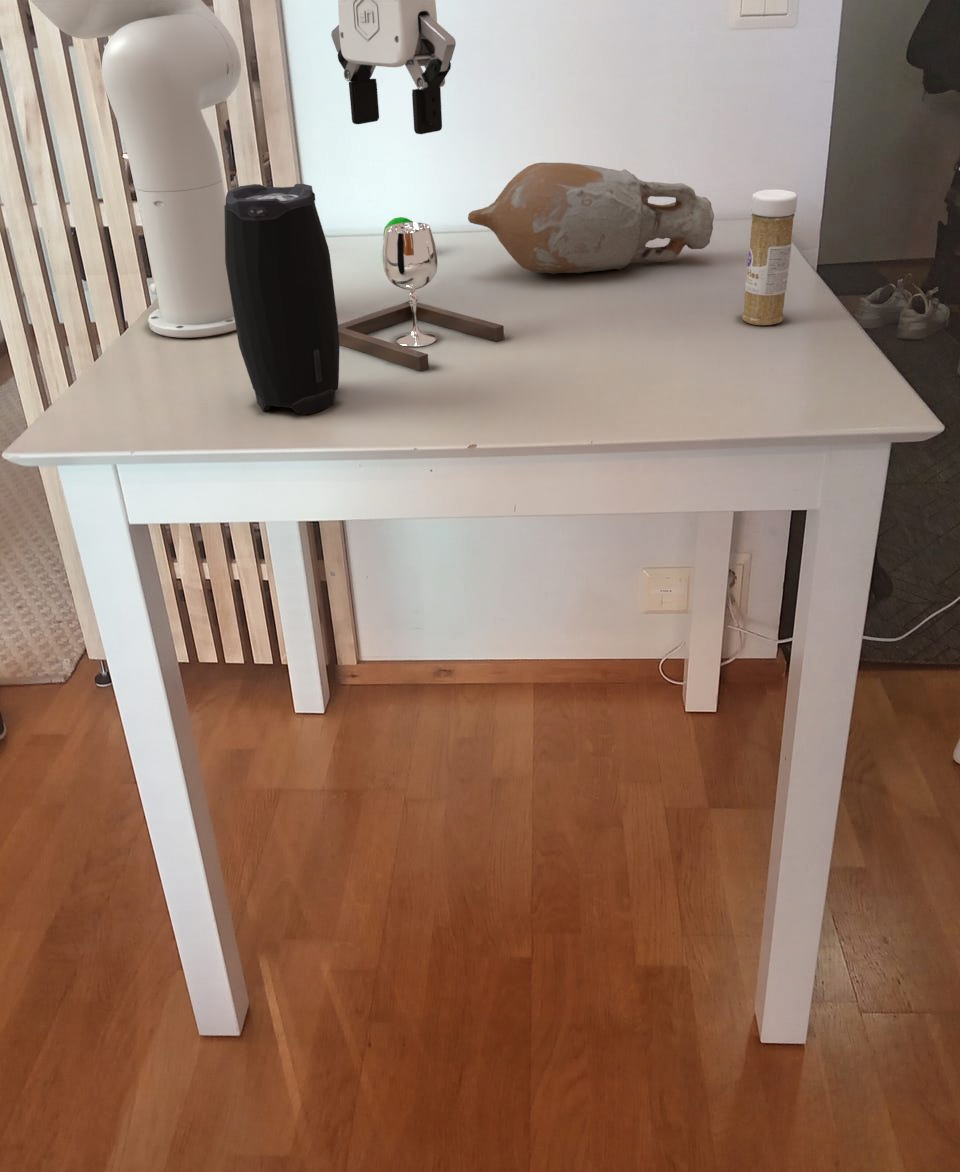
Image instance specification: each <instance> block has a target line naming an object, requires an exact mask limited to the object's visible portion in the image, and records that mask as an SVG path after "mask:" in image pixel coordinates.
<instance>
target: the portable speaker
mask: <svg viewBox="0 0 960 1172" xmlns="http://www.w3.org/2000/svg"><path fill="white" fill-rule="evenodd" d="M225 196H226V204H225V205H224V212H225V264H226V270H227V276H228V282H229V288H230V294H231V300H232V306H233V312H234V318H235V324H236V330H235V331H236V336H237V341H238V347H239V350H240V353H241V356H242V360H243V362H244V365H245V368H246V371H247V374H248V377H249V380H250V384H251V387H252V389H253V391H254V394H255V398H256V404H257V405H258V407H259V409H260V410H261V411H262V412H267V411H270V410H271V407H278V408H288V409H292V410H293V411H294V412H295V413H296V414H297V415H302V416H303V415H304V416H308V415H311V414H315V413H318V412H320V411H323V410H325V409H327V408H329V407H331V406H333V404H334V401H335V397H336V393H337V391H338V390H339V387H340V346H341V345H340V344H339V332H338V325H339V322H338V321H339V320H338V314H337V313H338V312H337V303H336V296H335V287H334V278H333V271H332V270H333V269H332V262H331V254H330V250H329V246H328V243H327V239H326V236H325V235H326V234H325V232H324V230H323V226H322V223H321V219H320V216H319V213H318V210H317V206H316V194H315V192H314V190H313V186H312V185H310V184H306V183H295V184H294V185H293V186H283V187H282V186H264V185H262V184H258V183H254V184H246V185H239V186H237V187H234V188H233V189H230V190H228V191H227V192H226V194H225Z"/></svg>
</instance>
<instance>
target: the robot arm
mask: <svg viewBox="0 0 960 1172" xmlns="http://www.w3.org/2000/svg"><path fill="white" fill-rule="evenodd" d="M29 1H30V2H31V3H32V4H33V5H34V6H35V7H36V8H37V9H38V10H39V11H40V12H41V13H42V14H43V15H44V16H45V17H46V18H47V19H48V20H49V21H50V22H51V23H52V24H53V25H54V26H56V28H57V29H59V30H60V31H61V32H63V34H64V33H65V35H67V36H70V37H73V38H76V39H80V40H88V39H89V40H90V39H91V40H92V39H100V38H106V37H110V38H109V39H108V42H107V43H106V45H105V48H104V50H103V54H102V59H101V75H102V81H103V86H104V90H105V93H106V96H107V98H108V101H109V104H110V106H111V109H112V111H113V114H114V117H115V119H116V122H117V124H118V127H119V130H120V134H121V137H122V140H123V144H124V147H125V151H126V155H127V159H128V164H129V168H130V169H129V170H130V173H131V177H132V182H133V187H134V190H135V191H134V192H135V195H136V201H137V205H138V209H139V214H140V219H141V224H142V229H143V234H144V239H145V245H146V248H147V254H148V258H149V264H150V269H151V272H152V277H153V282H152V283H150V285H149V291H150V293H152V294H153V295H156V298H157V302H158V308H156V309H155V310H153V311H152V312H151V313H150V314H149V316H148V317H147V320H148V326H149V329H150V330H151V331H152V332H154V333H155V334H157V335H160V336H163V337H170V338H182V339H183V338H184V339H188V338H190V339H191V338H203V337H212V336H218V335H223V334H226V333H231V332H234V331H237V330H236V324H235V318H234V312H233V306H232V300H231V294H230V288H229V282H228V276H227V270H226V264H225V212H224V205H225V204H226V190H225V183H224V180H223V179H224V178H223V173H222V168H221V163H220V158H219V157H220V156H219V154H218V150H217V147H216V143H215V141H214V137H213V135H212V133H211V131H210V128H209V127H208V125H207V122H206V120H205V117H204V115H203V112H202V110H204V109H205V110H206V109H208V108H211V107H214V106H215V105H219V104H220V103H222V102H223V101H225V100H226V99H228V98H230V96H231V95H233V93H234V91H235V90H236V88H237V86H238V84H239V81H240V78H241V73H242V71H241V70H242V64H241V56H240V52H239V49H238V46H237V43H236V42H235V40H234V38H233V35H232V34H231V33H230V31H229V29H228V28H227V27H226V25H225V24H224V23H223V22H222V21H221V19H220V18H219V17H218V16H217V15H216V14H215V13H214V12H213V11H212V10H211V8H209V6H208V5H207V4H206V3H205V2H204V1H203V0H29ZM436 2H437V1H436V0H337V10H338V24H337V26H336V27H335V28H334V29H332V31H331V40H332V42H333V45H334V47H335V50H336V53H337V60H338V62H339V64H340V65H341V67H342V69H343V70H344V71H343V77H344V80H345V81H346V82H348V89H349V91H348V92H349V101H350V102H349V103H350V110H351V111H350V113H351V114H350V115H351V122H352V124H354V125H363V124H368V123H375V122H378V121H379V120H380V108H379V107H380V106H379V95H378V83H377V78H372V76H373V74H374V71H375V69H376V67H383V68H385V67H386V68H400V67H401V68H402V67H403V66H405V67H406V69H407V71H408V73H409V75H410V77H411V79H412V81H413V82H414V84H415V86H416V88H414V89H411V93H412V94H411V96H412V99H411V100H412V116H413V131H414V133H415V134H416V135H424V134H429V133H430V134H431V133H434V132H435V133H436V132H440V131H441V130H442V129H443V115H442V92H441V90H442V89H441V88H442V87H444V86H445V84H446V77H447V75H448V74H449V72H450V70H451V68H452V63H451V61H452V58H453V56H454V52H455V48H456V44H457V43H456V42H457V41H456V39H455V38H454V36H453V35H451V33H450V32H448V31H447V30H446V29H445V28H444V27H442V25H440V24H439V23H438V14H437V13H438V12H437V3H436ZM422 67H424V68H425V70H423V68H422Z"/></svg>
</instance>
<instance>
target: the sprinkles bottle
mask: <svg viewBox="0 0 960 1172" xmlns="http://www.w3.org/2000/svg"><path fill="white" fill-rule="evenodd" d="M750 204H751V206H750V212H751V217H752V218H751V228H750V240H749V247H748V253H747V267H746V276H745V285H744V290H745V291H744V302H743V311H742V313H741V319H742V320H743V321H744V322H745V323H748V324H750V325H754V326H772V325H776V324H779V323H782V322H783V320H784V317H785V315H784V306H785V300H786V299H785V298H786V297H785V296H786V292H787V287H788V280H789V279H788V278H789V269H790V260H791V252H792V251H791V250H792V236H793V226H794V218H795V213H796V212H797V207H798V206H797V205H798V194H797V193H796V192H794V191H792V190H786V189H763V190H759V191H756V192H753V194H752V197H751V203H750Z"/></svg>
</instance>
